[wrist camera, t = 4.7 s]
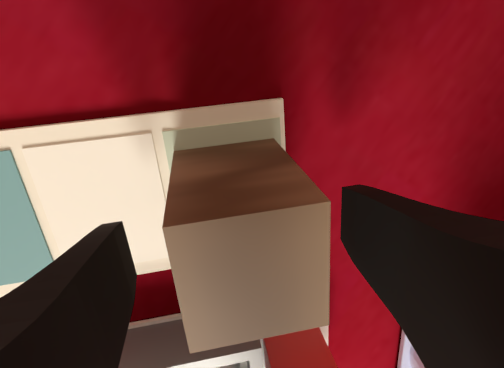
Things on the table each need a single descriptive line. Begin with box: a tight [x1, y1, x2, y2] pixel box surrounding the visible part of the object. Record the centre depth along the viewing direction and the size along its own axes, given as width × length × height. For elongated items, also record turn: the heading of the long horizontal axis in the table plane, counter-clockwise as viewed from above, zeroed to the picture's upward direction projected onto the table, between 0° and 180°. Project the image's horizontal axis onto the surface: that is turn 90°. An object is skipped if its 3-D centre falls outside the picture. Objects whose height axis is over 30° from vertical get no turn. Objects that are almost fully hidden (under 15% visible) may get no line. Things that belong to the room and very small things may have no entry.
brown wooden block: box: [162, 138, 331, 354], centre depth 11 cm, size 4×4×6 cm
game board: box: [0, 98, 286, 298], centre depth 14 cm, size 15×7×1 cm, turn 94°
